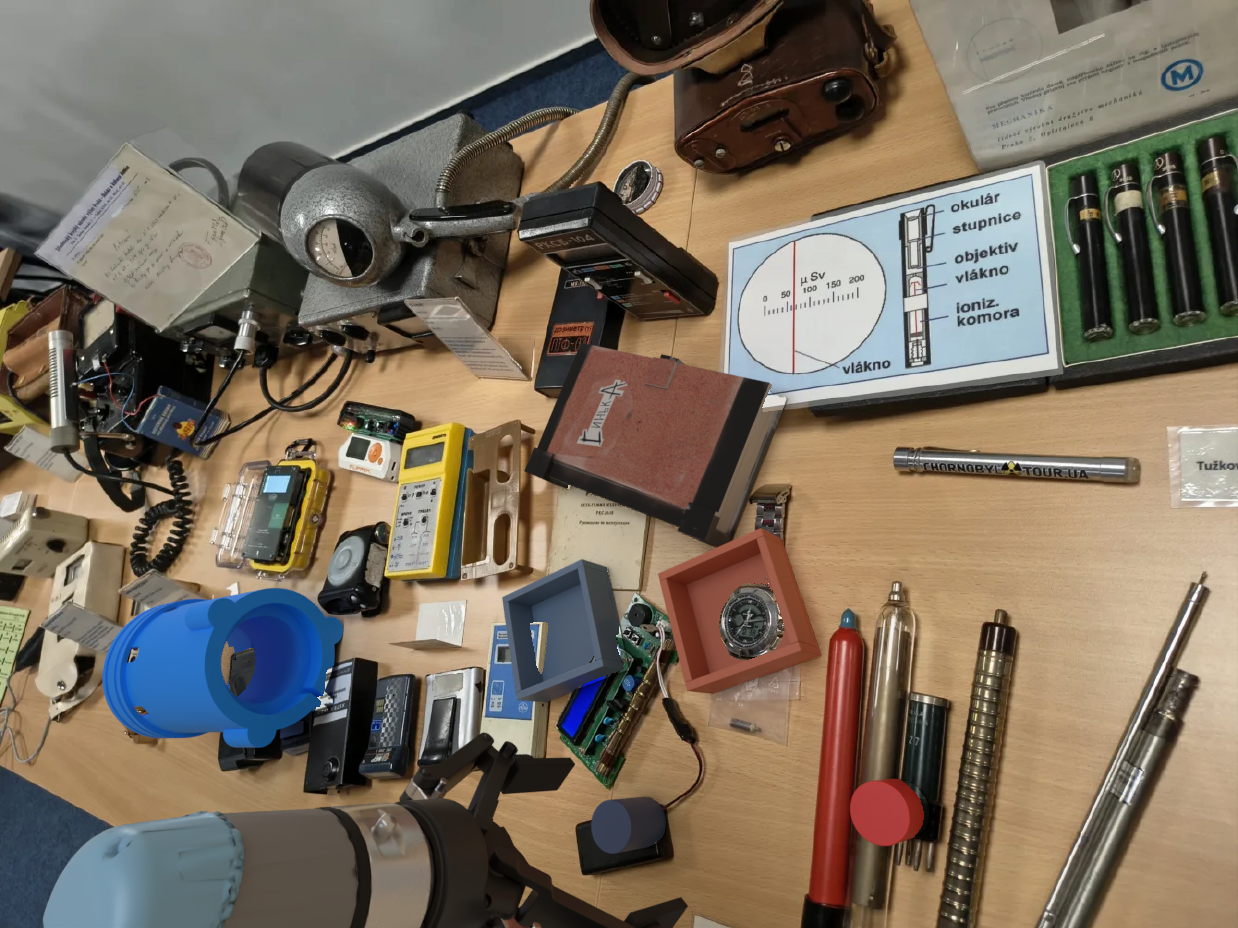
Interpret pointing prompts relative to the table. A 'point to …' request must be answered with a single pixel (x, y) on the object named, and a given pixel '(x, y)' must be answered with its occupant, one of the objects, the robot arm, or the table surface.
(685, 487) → the book
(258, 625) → the blue pipe coupling
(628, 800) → the blue canister
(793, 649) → the red bin
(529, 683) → the blue bin
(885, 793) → the red canister
